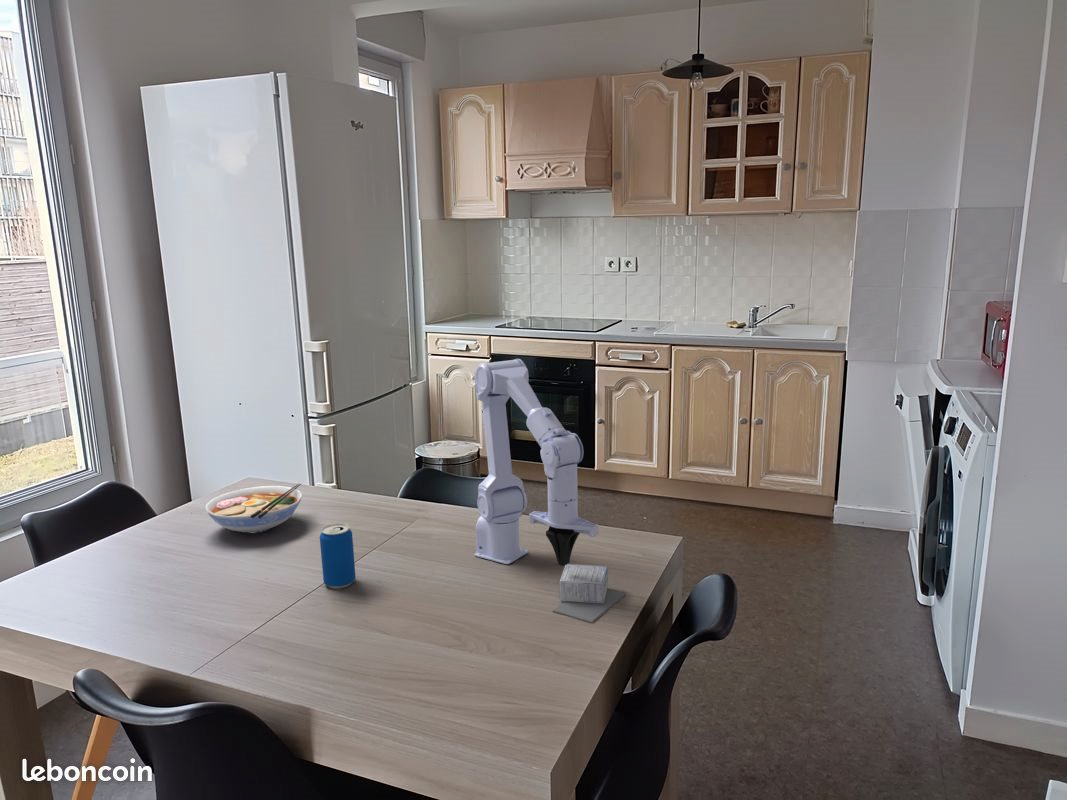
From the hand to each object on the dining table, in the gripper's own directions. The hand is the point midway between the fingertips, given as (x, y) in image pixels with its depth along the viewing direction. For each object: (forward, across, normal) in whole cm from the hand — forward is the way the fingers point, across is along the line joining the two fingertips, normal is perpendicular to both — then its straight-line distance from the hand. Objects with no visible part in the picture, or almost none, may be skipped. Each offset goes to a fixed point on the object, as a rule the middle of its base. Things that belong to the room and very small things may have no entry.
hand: (563, 563), depth 149 cm
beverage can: (+7, +43, +19) cm, 48 cm away
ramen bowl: (+7, +85, +8) cm, 86 cm away
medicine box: (+4, +1, -1) cm, 5 cm away
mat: (+7, -6, 0) cm, 9 cm away
